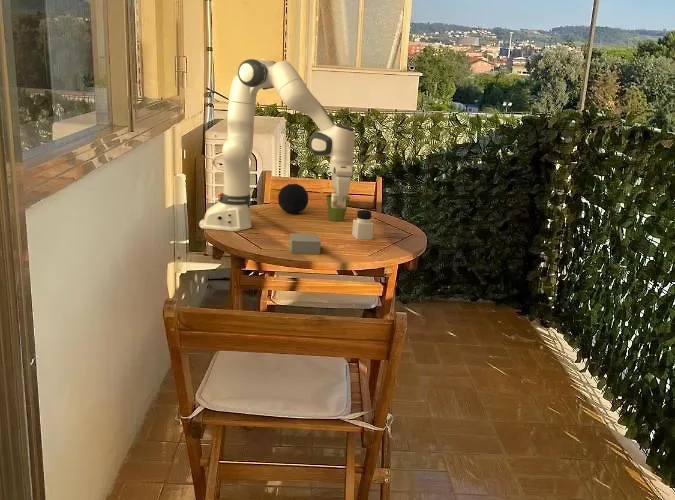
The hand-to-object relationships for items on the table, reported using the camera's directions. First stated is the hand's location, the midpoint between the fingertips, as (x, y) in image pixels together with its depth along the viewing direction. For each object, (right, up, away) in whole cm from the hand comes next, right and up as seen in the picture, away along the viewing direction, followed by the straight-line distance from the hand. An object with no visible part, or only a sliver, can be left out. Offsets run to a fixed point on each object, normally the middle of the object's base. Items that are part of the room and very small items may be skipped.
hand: (338, 202), depth 247 cm
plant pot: (-1, -4, +53) cm, 53 cm away
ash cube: (0, -2, 0) cm, 2 cm away
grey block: (-13, -18, +1) cm, 23 cm away
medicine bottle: (+10, -13, +26) cm, 31 cm away
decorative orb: (-22, -1, +60) cm, 64 cm away
